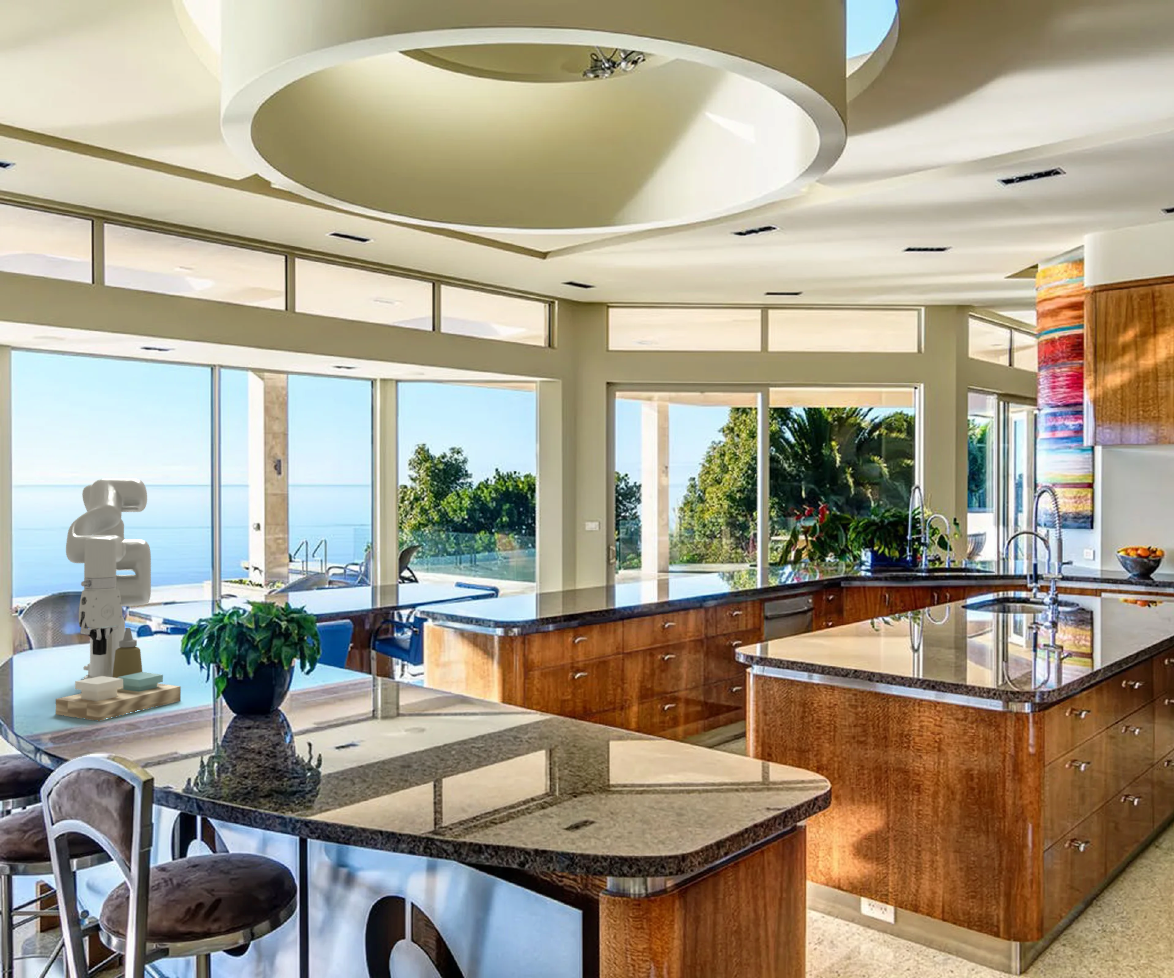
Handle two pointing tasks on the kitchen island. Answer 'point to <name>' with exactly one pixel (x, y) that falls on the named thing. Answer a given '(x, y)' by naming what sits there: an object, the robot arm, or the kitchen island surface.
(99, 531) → the robot arm
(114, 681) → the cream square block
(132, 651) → the squeeze bottle
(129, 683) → the teal key
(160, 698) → the light wood flat block
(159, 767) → the kitchen island surface
